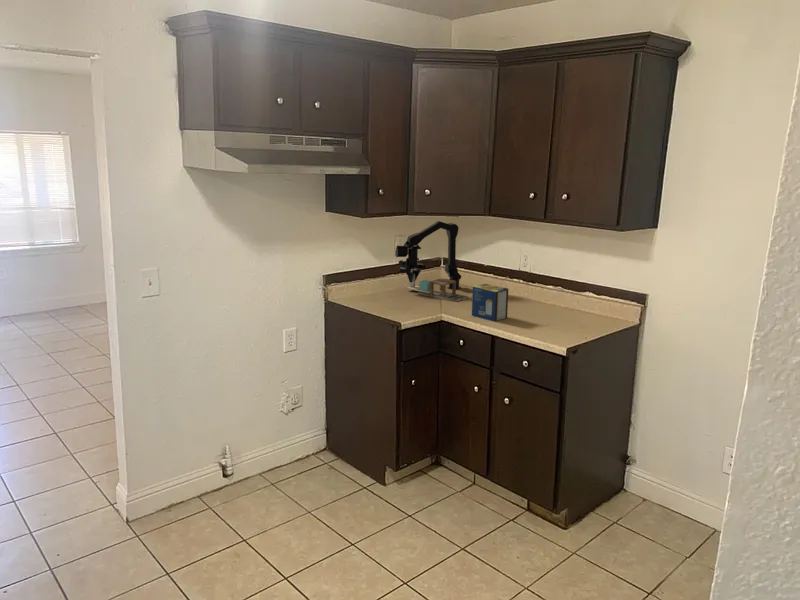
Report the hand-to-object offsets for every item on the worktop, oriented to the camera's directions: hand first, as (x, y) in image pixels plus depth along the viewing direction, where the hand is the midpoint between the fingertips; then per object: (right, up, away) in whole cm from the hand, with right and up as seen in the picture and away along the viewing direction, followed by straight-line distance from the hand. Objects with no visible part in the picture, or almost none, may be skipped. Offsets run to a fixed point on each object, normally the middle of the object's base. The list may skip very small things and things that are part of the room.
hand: (412, 282), depth 375 cm
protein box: (+38, -20, -55) cm, 70 cm away
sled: (+8, -5, -6) cm, 11 cm away
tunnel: (+17, -8, -12) cm, 23 cm away
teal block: (+8, -5, -6) cm, 11 cm away
